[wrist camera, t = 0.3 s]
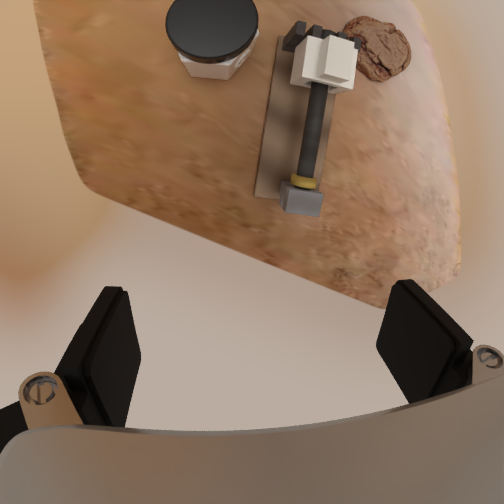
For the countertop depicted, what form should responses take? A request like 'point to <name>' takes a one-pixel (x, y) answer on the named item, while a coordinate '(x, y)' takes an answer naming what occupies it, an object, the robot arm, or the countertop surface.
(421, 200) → the countertop surface
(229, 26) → the jar
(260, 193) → the comb rig
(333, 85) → the sleeve
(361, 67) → the cookie
